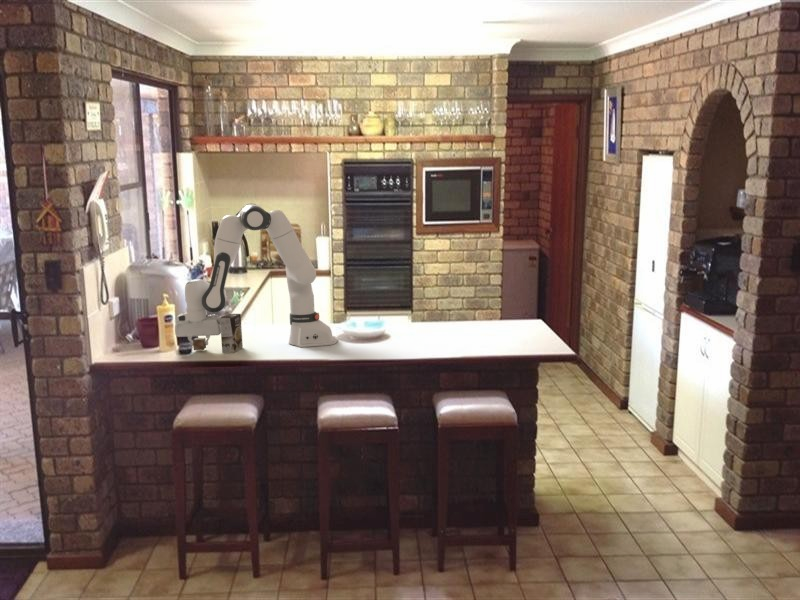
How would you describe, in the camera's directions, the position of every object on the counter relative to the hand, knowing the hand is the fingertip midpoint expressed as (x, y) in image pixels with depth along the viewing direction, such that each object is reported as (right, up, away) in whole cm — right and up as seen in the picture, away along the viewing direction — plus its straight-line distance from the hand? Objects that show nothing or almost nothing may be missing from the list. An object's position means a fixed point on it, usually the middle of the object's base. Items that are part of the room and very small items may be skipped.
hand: (199, 345), depth 333 cm
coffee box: (+15, -3, +1) cm, 15 cm away
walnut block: (0, -2, 0) cm, 2 cm away
